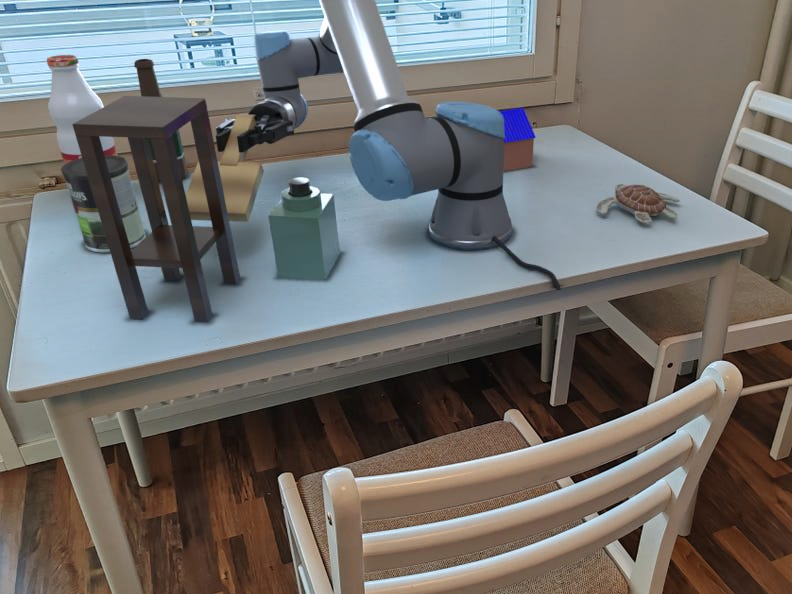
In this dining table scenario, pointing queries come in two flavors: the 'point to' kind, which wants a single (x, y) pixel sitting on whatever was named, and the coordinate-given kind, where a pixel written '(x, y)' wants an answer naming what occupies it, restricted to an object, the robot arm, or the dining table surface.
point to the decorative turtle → (639, 202)
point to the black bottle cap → (299, 187)
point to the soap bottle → (304, 235)
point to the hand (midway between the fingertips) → (229, 144)
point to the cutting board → (229, 179)
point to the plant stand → (159, 196)
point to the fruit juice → (72, 105)
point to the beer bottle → (151, 89)
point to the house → (517, 140)
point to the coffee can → (88, 209)
